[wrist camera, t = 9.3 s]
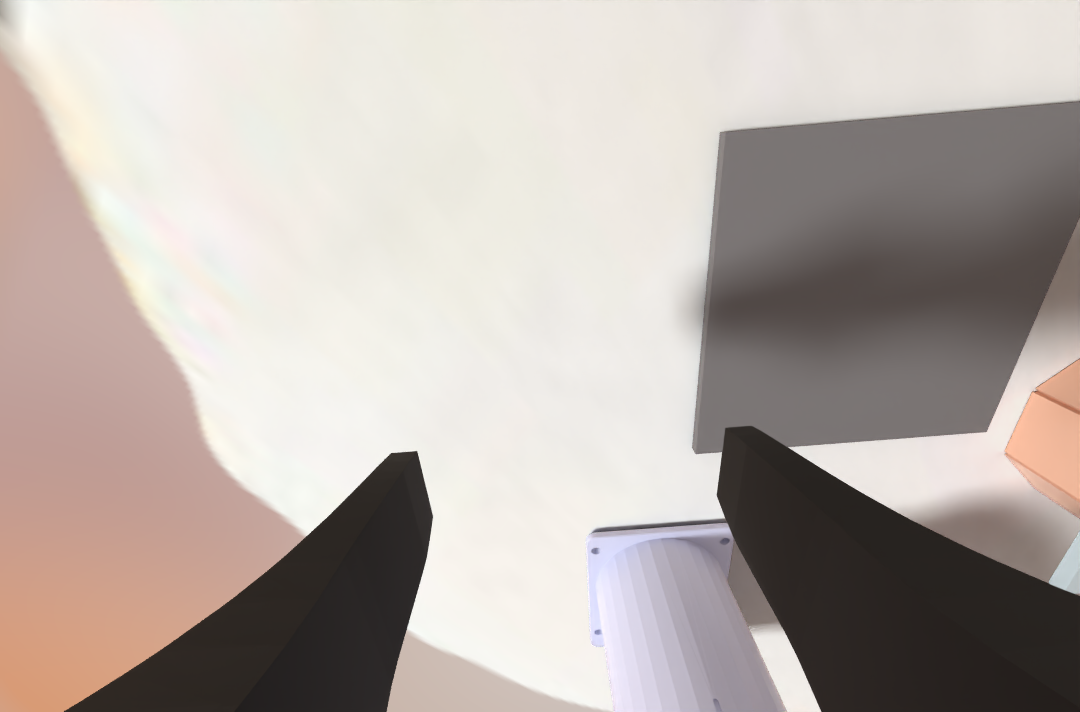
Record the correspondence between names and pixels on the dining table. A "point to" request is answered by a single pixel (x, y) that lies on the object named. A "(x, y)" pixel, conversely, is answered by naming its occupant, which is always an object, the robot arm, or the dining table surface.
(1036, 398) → the bowl
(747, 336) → the mat
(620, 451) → the dining table surface
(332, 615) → the robot arm
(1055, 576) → the cover
